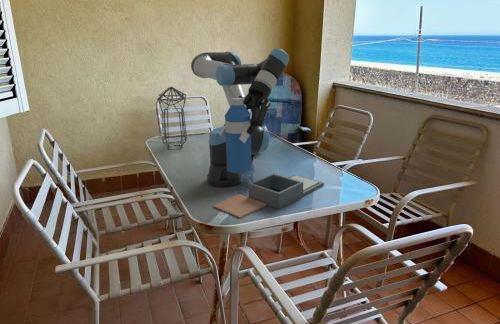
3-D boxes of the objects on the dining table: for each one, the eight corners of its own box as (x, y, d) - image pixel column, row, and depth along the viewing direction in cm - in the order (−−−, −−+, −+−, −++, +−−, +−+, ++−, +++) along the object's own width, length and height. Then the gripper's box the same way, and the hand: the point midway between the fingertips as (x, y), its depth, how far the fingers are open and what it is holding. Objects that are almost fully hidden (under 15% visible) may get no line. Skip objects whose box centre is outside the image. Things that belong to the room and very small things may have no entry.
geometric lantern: (189, 143, 218) (186, 84, 207) (188, 151, 204) (185, 88, 192) (162, 144, 216) (157, 85, 205) (160, 152, 202) (154, 89, 190)
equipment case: (248, 198, 140) (248, 183, 138) (294, 177, 162) (295, 164, 160) (279, 209, 131) (279, 193, 129) (323, 185, 152) (324, 171, 150)
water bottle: (221, 171, 126) (218, 100, 118) (232, 163, 135) (230, 96, 127) (246, 174, 123) (245, 101, 115) (256, 166, 131) (255, 97, 123)
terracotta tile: (213, 206, 133) (213, 205, 133) (239, 195, 143) (239, 194, 143) (240, 218, 124) (240, 216, 124) (266, 205, 134) (266, 203, 134)
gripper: (290, 95, 125) (260, 150, 119) (245, 91, 139) (216, 139, 132) (281, 81, 119) (249, 137, 113) (235, 78, 133) (204, 127, 127)
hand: (231, 138), depth 123 cm, fingers closed on water bottle, 9 cm apart
